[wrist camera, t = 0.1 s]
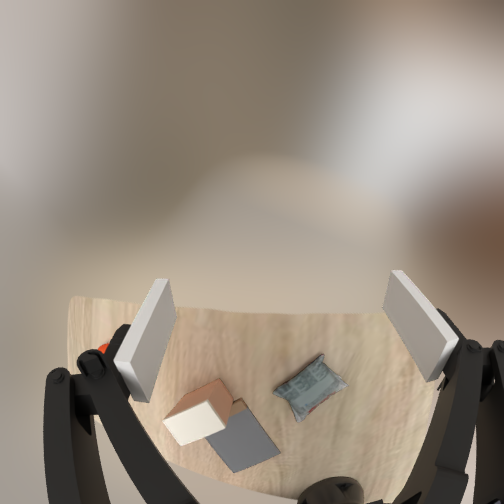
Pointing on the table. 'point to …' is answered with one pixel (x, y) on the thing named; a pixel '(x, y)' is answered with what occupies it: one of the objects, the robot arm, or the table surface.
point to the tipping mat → (242, 440)
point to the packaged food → (310, 388)
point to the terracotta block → (200, 413)
